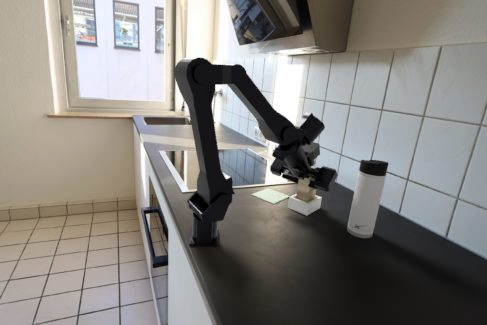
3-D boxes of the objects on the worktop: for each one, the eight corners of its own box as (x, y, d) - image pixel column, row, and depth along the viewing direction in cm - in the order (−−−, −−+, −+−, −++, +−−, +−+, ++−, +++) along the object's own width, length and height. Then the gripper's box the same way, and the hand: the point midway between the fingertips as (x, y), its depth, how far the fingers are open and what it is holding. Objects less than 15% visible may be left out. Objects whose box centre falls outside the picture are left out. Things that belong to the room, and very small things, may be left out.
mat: (273, 204, 88) (273, 203, 88) (251, 195, 94) (251, 194, 94) (289, 197, 95) (289, 196, 95) (267, 188, 100) (267, 188, 100)
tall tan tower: (304, 212, 84) (310, 171, 81) (294, 208, 87) (300, 168, 83) (313, 207, 88) (319, 168, 85) (303, 203, 90) (308, 165, 87)
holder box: (306, 215, 82) (308, 204, 81) (287, 207, 86) (288, 197, 85) (320, 207, 88) (321, 197, 87) (301, 200, 92) (302, 190, 91)
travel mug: (357, 240, 71) (374, 163, 66) (342, 227, 77) (356, 155, 72) (378, 238, 73) (396, 163, 67) (361, 225, 79) (376, 155, 73)
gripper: (341, 140, 72) (350, 173, 83) (280, 127, 84) (295, 158, 95) (321, 175, 69) (334, 205, 80) (260, 157, 80) (278, 185, 91)
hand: (309, 186), depth 87 cm, fingers open, 5 cm apart
